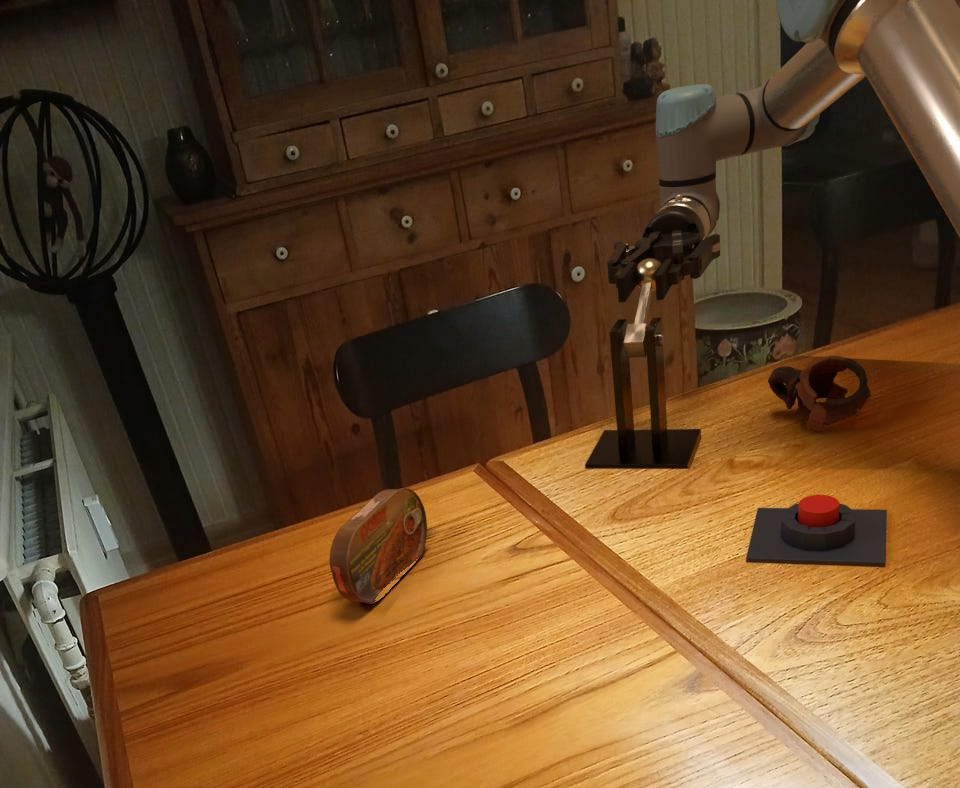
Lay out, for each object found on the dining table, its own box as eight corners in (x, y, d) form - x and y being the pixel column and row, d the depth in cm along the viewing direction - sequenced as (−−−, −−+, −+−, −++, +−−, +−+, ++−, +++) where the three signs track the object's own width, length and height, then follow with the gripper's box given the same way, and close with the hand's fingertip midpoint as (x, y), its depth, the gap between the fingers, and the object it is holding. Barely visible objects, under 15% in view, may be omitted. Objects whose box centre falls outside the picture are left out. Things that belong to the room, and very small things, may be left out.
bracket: (604, 438, 124) (593, 313, 115) (701, 437, 120) (697, 307, 111) (585, 473, 116) (572, 342, 108) (687, 474, 112) (682, 337, 103)
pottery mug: (868, 402, 122) (885, 357, 114) (846, 462, 118) (861, 420, 111) (773, 377, 125) (783, 332, 118) (748, 435, 122) (757, 392, 114)
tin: (363, 619, 97) (343, 545, 92) (337, 616, 98) (316, 542, 93) (435, 545, 107) (420, 474, 103) (410, 542, 109) (394, 473, 104)
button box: (885, 529, 96) (888, 492, 93) (883, 583, 88) (887, 544, 86) (757, 526, 100) (757, 491, 98) (746, 578, 92) (745, 540, 90)
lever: (638, 276, 117) (634, 252, 114) (669, 274, 116) (665, 250, 113) (621, 361, 112) (616, 339, 109) (653, 360, 111) (648, 337, 108)
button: (839, 511, 93) (840, 494, 92) (837, 529, 90) (838, 512, 89) (799, 510, 94) (800, 494, 93) (796, 528, 91) (796, 512, 90)
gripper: (611, 210, 129) (564, 259, 111) (741, 198, 123) (714, 248, 105) (615, 269, 133) (571, 326, 115) (742, 260, 127) (716, 318, 109)
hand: (640, 288), depth 110 cm, fingers closed on lever, 4 cm apart
